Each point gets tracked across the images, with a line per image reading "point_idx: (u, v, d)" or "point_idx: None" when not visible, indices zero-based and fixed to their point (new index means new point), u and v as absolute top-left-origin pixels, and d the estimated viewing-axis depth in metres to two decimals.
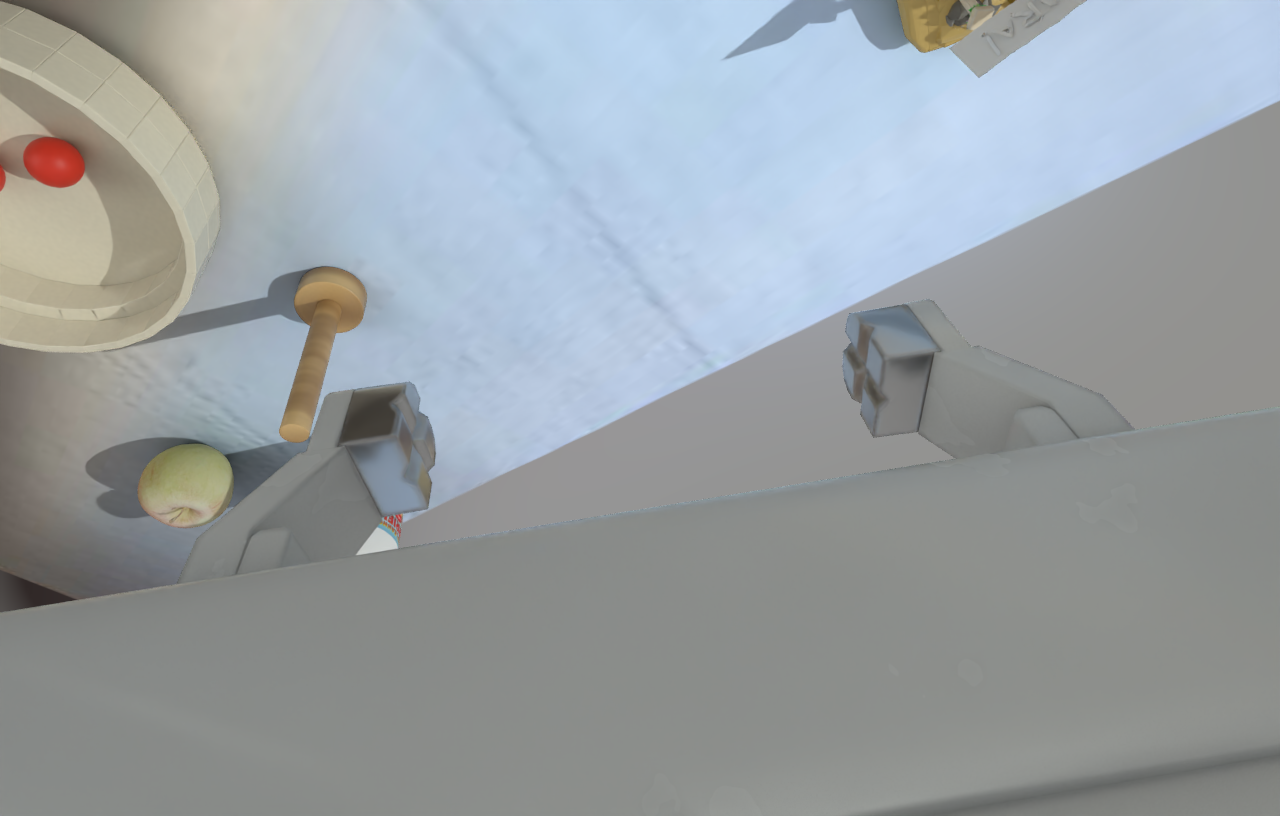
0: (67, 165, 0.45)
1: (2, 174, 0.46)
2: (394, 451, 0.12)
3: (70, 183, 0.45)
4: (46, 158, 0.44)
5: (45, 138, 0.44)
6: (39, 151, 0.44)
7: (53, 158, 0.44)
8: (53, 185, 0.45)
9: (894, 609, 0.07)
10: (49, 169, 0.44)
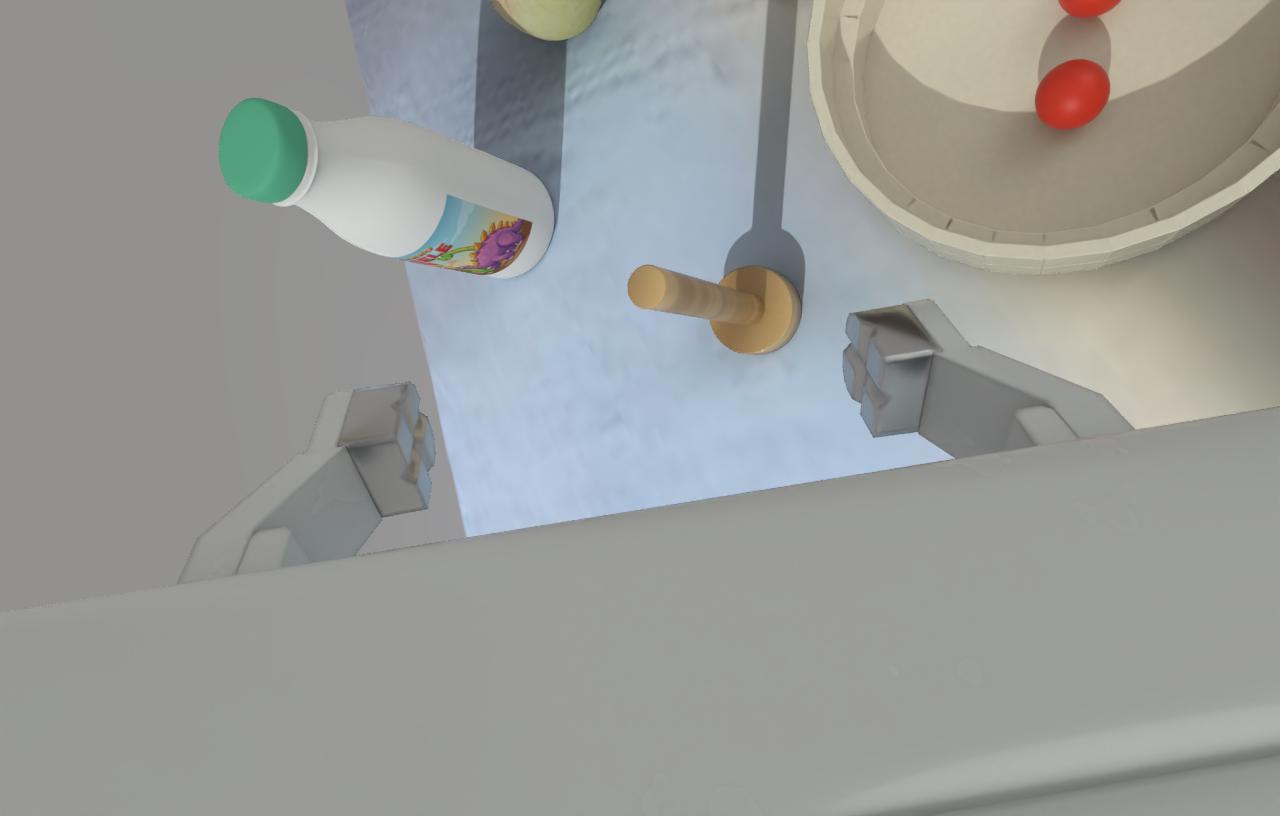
0: (1070, 116, 0.33)
1: (1078, 16, 0.33)
2: (394, 451, 0.12)
3: (1042, 103, 0.33)
4: (1091, 98, 0.32)
5: None
6: (1101, 93, 0.32)
7: (1086, 106, 0.32)
8: (1051, 83, 0.33)
9: (894, 610, 0.07)
10: (1077, 94, 0.32)
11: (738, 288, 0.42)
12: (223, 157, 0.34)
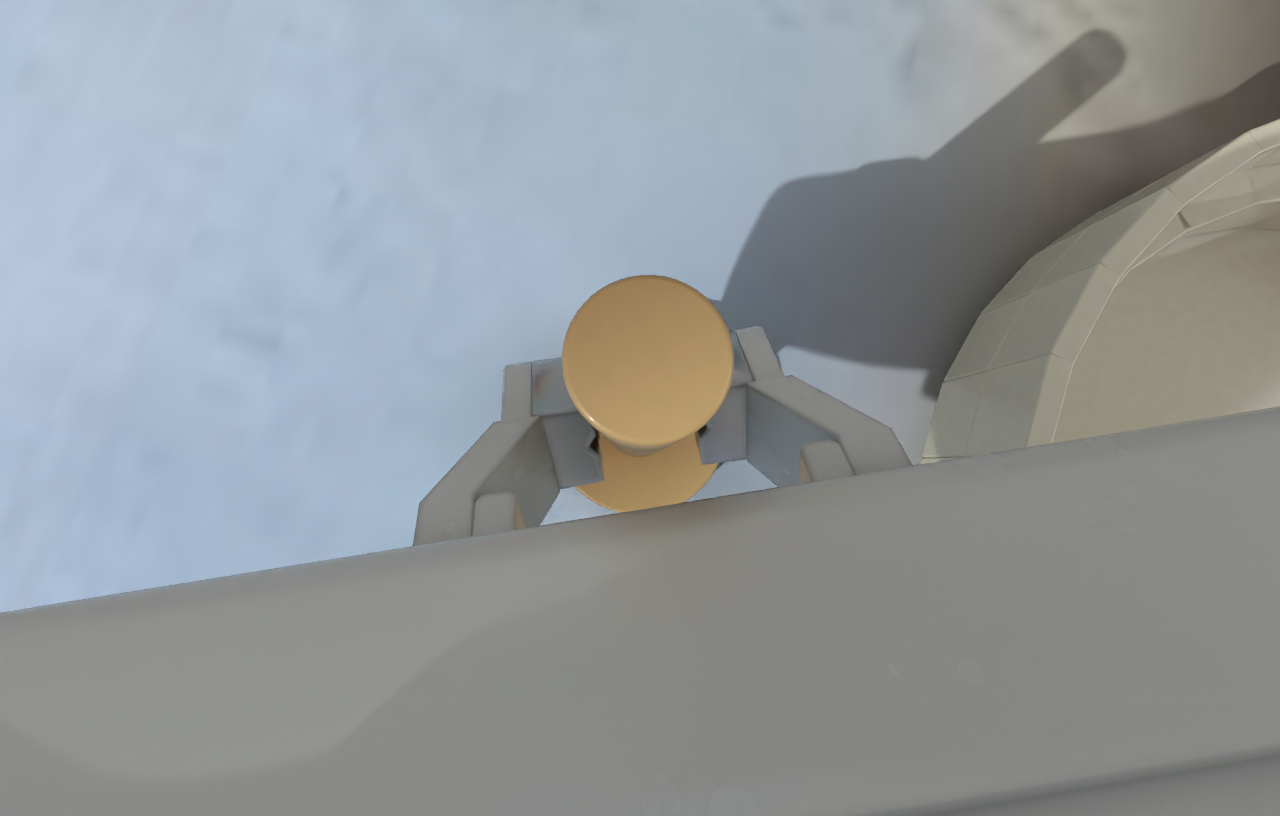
0: None
1: None
2: (585, 421, 0.12)
3: None
4: None
5: None
6: None
7: None
8: None
9: (894, 610, 0.07)
10: None
11: None
12: None
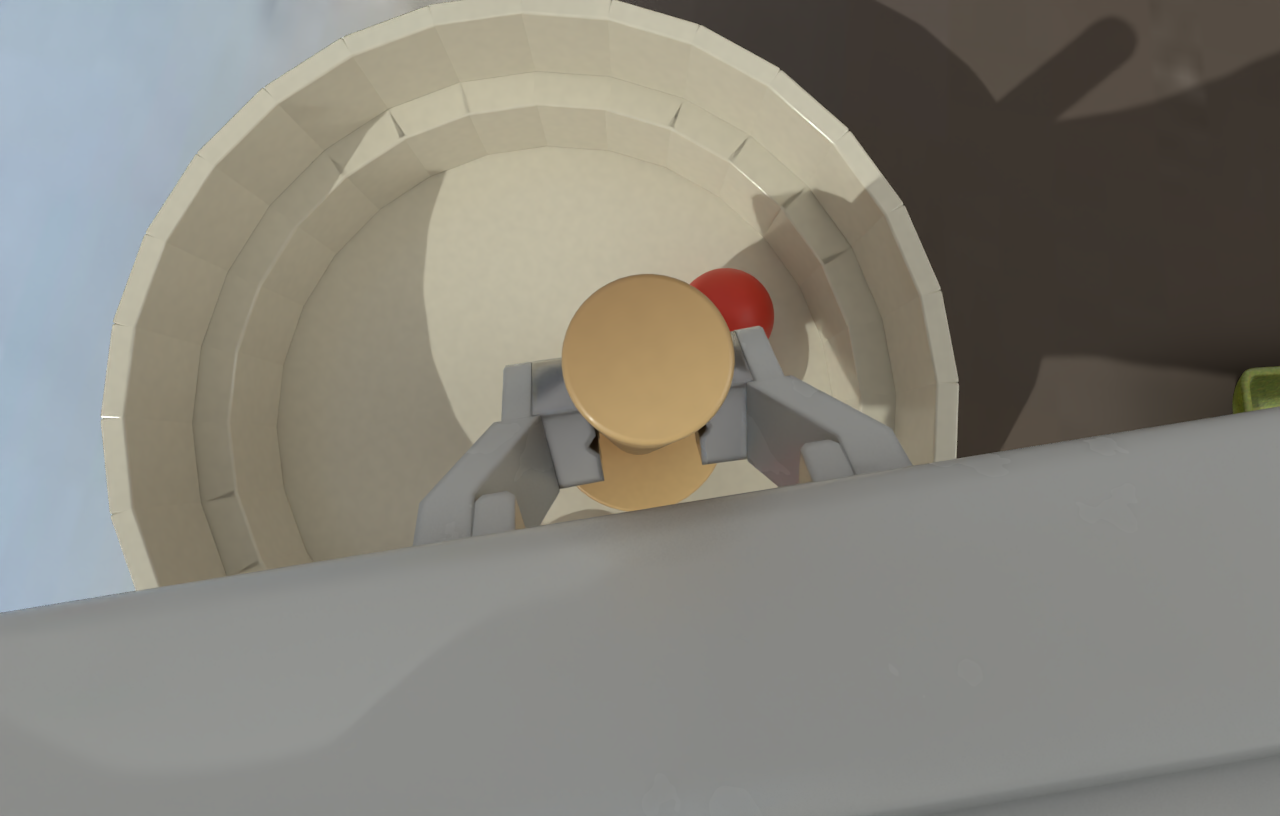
0: None
1: (736, 274, 0.22)
2: (584, 421, 0.12)
3: None
4: None
5: None
6: None
7: None
8: None
9: (894, 609, 0.07)
10: None
11: None
12: None
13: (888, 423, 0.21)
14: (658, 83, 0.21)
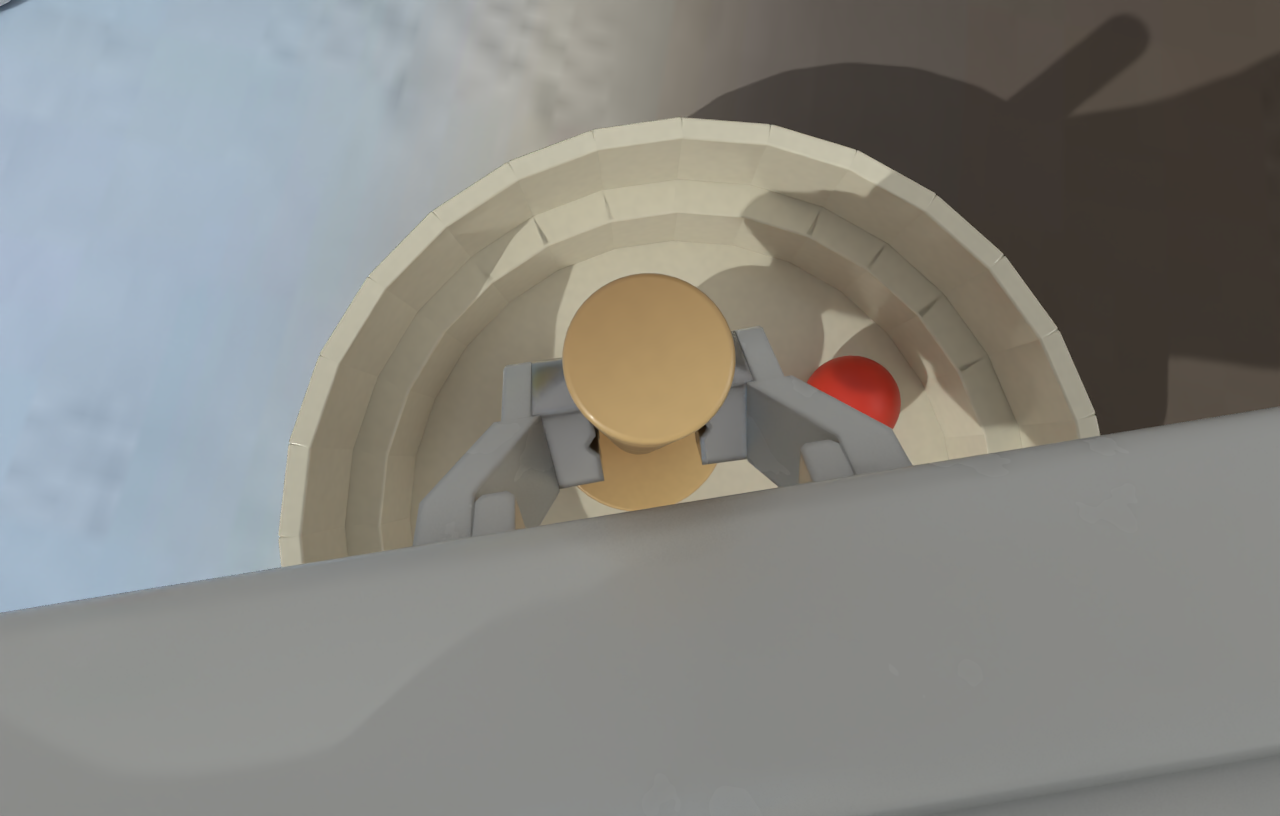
0: None
1: (866, 359, 0.22)
2: (585, 421, 0.12)
3: None
4: None
5: None
6: None
7: None
8: None
9: (894, 610, 0.07)
10: None
11: None
12: None
13: None
14: (799, 193, 0.22)
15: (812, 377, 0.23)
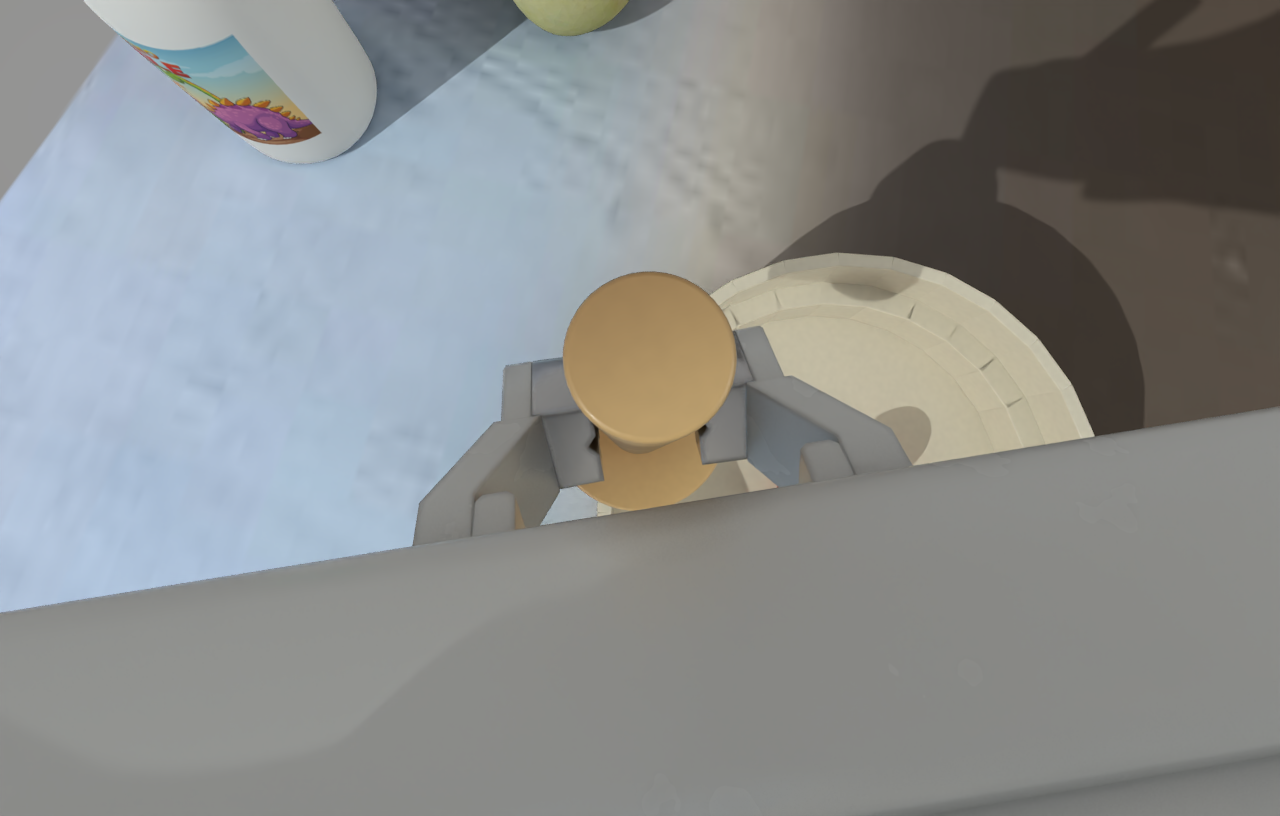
0: None
1: None
2: (585, 421, 0.12)
3: None
4: None
5: None
6: None
7: None
8: None
9: (894, 610, 0.07)
10: None
11: None
12: None
13: None
14: (903, 292, 0.33)
15: None
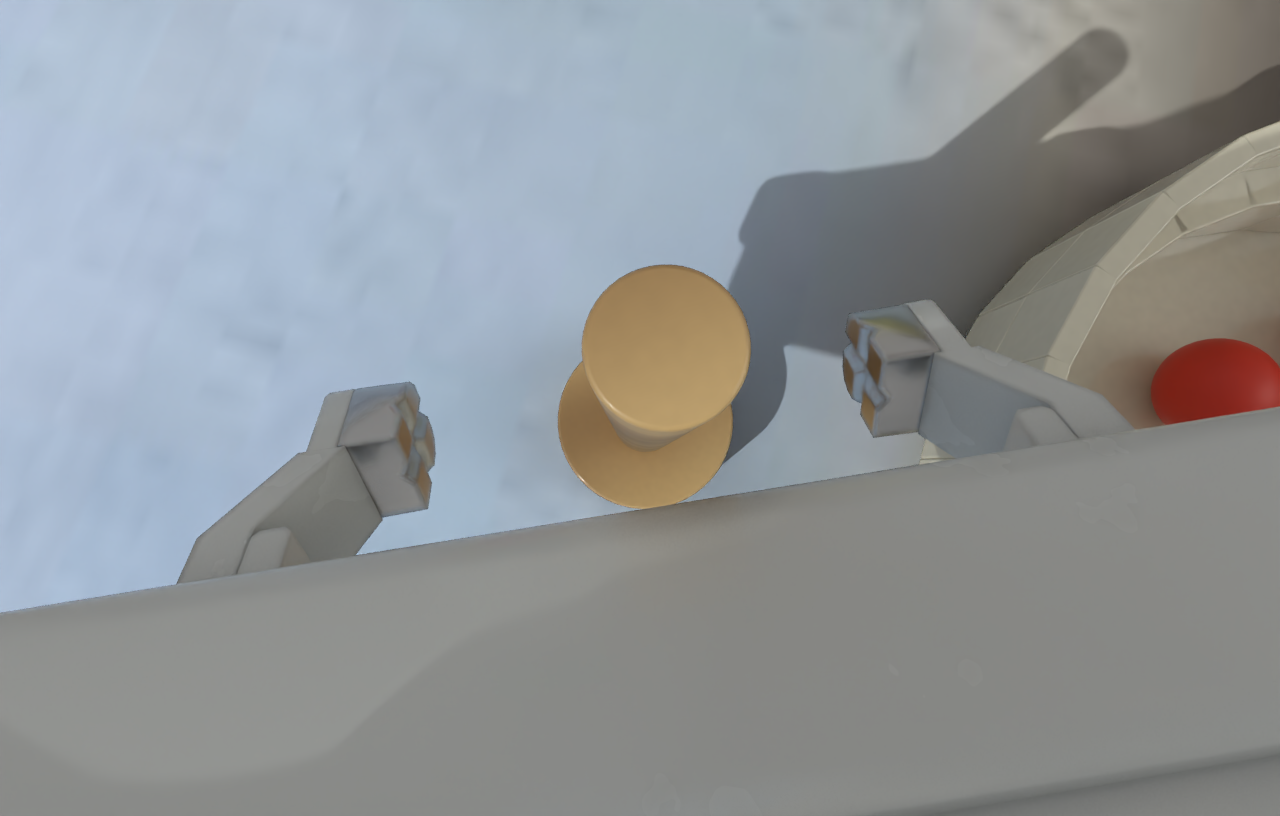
0: None
1: None
2: (394, 451, 0.12)
3: None
4: None
5: None
6: None
7: None
8: None
9: (894, 609, 0.07)
10: None
11: None
12: None
13: None
14: None
15: None
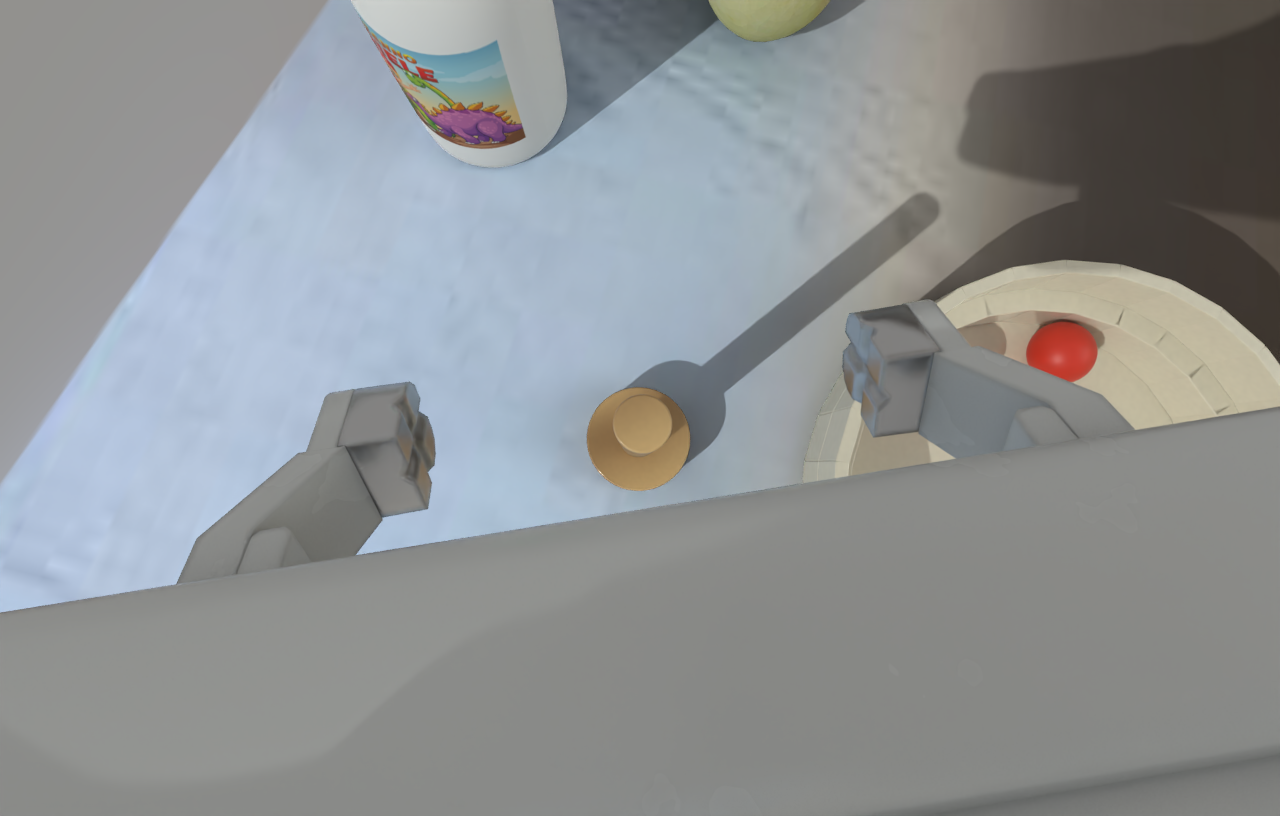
0: None
1: (1031, 357, 0.35)
2: (394, 451, 0.12)
3: None
4: None
5: None
6: None
7: None
8: None
9: (894, 609, 0.07)
10: None
11: None
12: None
13: None
14: (1114, 299, 0.34)
15: (1069, 358, 0.34)
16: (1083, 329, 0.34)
